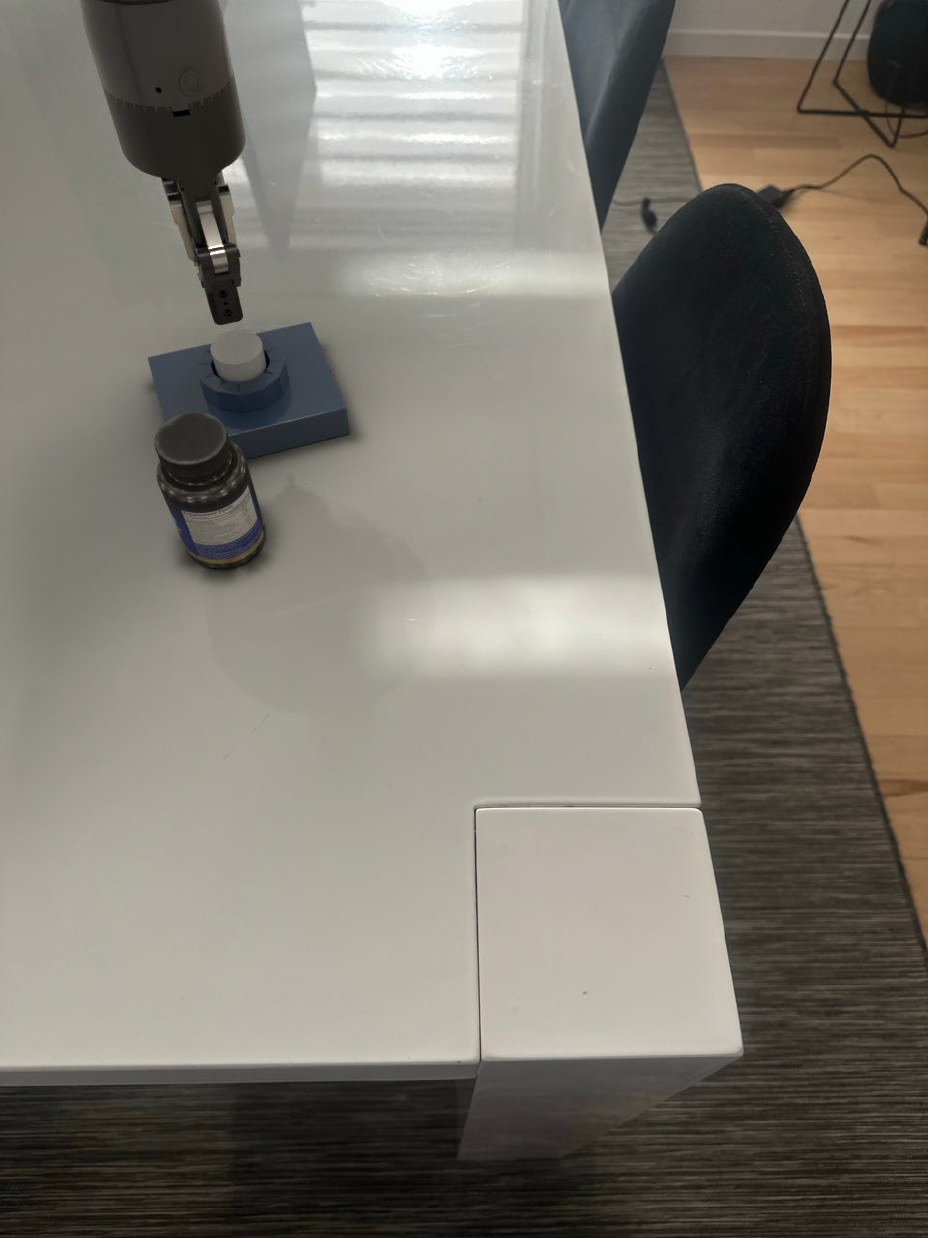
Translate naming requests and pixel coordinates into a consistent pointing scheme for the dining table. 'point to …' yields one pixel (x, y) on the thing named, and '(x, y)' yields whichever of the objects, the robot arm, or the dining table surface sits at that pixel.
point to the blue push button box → (259, 393)
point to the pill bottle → (208, 490)
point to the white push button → (238, 356)
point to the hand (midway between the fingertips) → (227, 317)
